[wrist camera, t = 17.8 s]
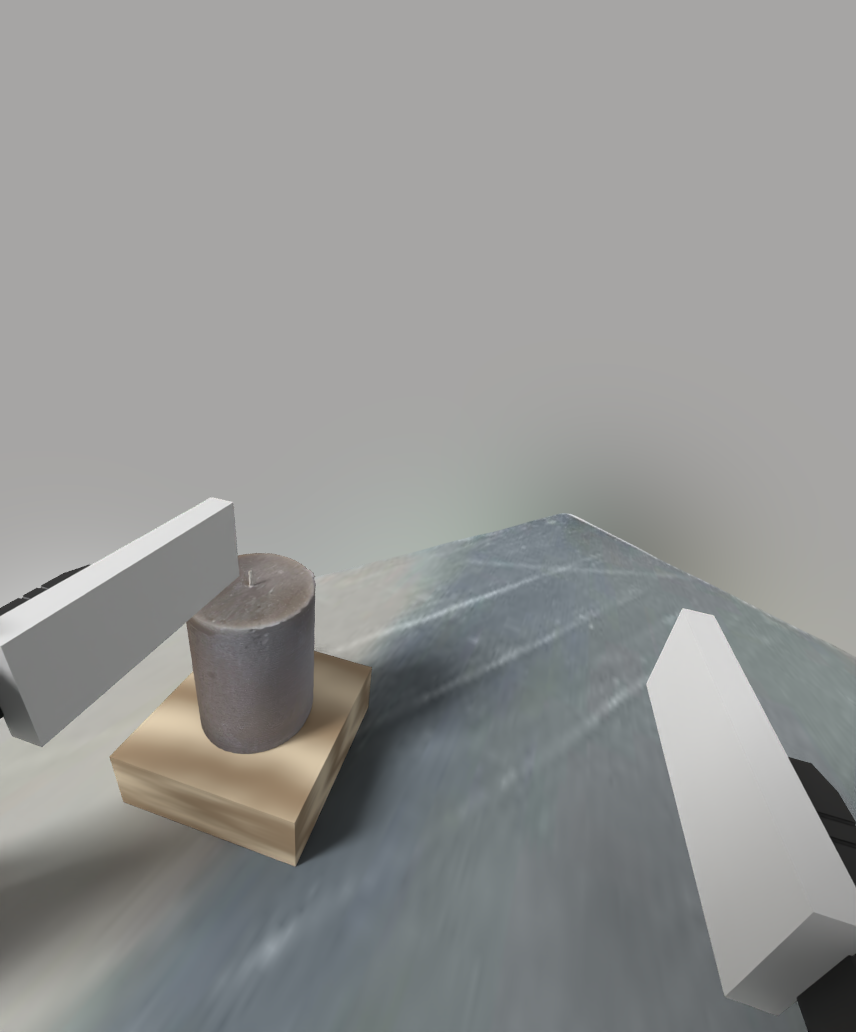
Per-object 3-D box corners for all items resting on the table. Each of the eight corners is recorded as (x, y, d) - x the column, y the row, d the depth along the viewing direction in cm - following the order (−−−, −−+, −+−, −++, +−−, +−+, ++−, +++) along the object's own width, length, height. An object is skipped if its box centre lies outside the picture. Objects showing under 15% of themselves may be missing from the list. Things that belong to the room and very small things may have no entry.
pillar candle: (186, 694, 41) (162, 559, 34) (287, 651, 47) (284, 529, 40) (223, 779, 35) (203, 634, 28) (334, 717, 41) (340, 586, 34)
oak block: (239, 667, 52) (235, 628, 49) (368, 707, 49) (371, 667, 47) (123, 801, 38) (109, 756, 35) (295, 866, 35) (294, 823, 33)
